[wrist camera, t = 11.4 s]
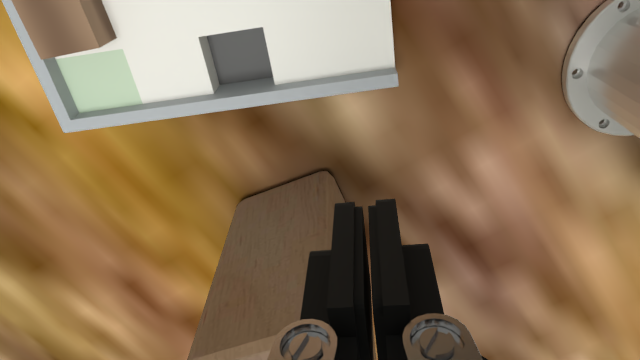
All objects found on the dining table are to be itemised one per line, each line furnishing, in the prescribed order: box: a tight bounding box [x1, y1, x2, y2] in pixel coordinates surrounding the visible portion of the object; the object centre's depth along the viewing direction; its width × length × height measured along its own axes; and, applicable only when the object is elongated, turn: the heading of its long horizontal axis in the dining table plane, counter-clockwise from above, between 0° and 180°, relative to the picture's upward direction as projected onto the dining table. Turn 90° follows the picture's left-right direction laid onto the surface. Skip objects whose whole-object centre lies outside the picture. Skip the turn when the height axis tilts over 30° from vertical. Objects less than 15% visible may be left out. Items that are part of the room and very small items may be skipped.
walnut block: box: [11, 0, 117, 60], centre depth 32 cm, size 4×4×3 cm
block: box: [187, 171, 376, 360], centre depth 37 cm, size 10×10×20 cm
